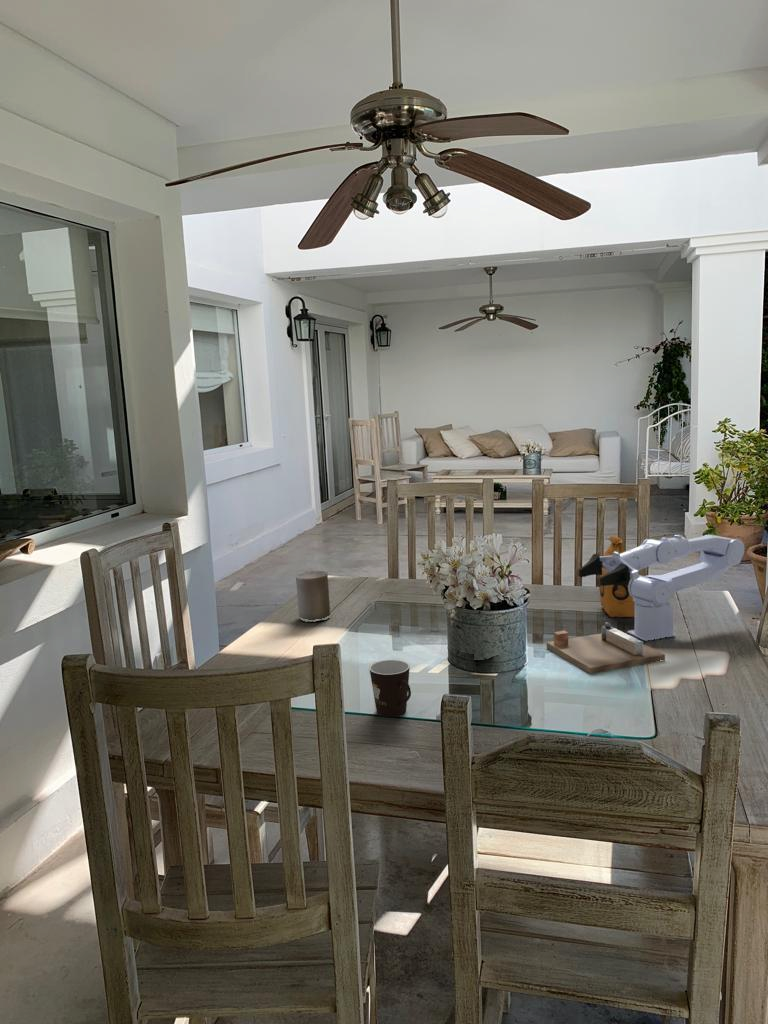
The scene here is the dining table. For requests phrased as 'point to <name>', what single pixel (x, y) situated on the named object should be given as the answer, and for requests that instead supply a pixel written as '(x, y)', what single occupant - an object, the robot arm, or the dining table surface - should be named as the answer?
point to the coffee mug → (390, 687)
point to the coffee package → (616, 589)
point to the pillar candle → (313, 595)
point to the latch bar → (621, 639)
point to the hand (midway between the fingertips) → (590, 577)
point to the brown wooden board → (599, 653)
